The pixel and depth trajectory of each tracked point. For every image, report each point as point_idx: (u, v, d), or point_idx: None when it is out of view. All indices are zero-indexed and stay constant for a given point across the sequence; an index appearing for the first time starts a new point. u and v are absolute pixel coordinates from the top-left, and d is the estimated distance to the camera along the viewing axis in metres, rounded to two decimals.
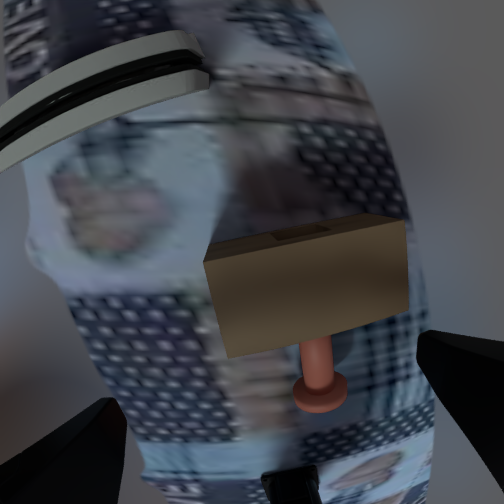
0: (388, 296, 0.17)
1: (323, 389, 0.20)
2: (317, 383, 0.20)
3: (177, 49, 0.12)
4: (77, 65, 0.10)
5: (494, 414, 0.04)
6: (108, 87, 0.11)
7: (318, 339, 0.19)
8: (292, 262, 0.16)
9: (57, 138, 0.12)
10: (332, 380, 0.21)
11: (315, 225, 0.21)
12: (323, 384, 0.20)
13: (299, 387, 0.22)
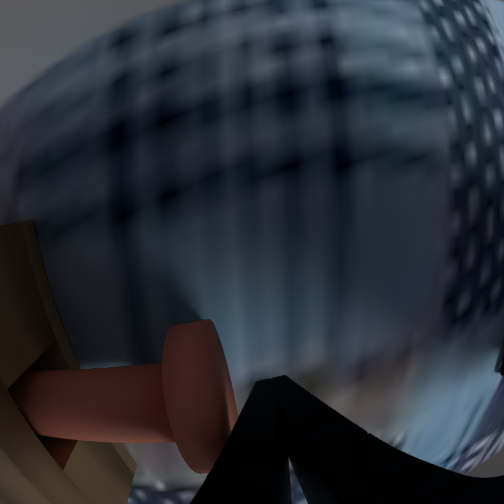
0: None
1: (165, 430, 0.06)
2: (145, 438, 0.06)
3: None
4: None
5: (315, 499, 0.04)
6: None
7: (36, 424, 0.06)
8: None
9: None
10: (143, 399, 0.06)
11: None
12: (148, 429, 0.06)
13: None
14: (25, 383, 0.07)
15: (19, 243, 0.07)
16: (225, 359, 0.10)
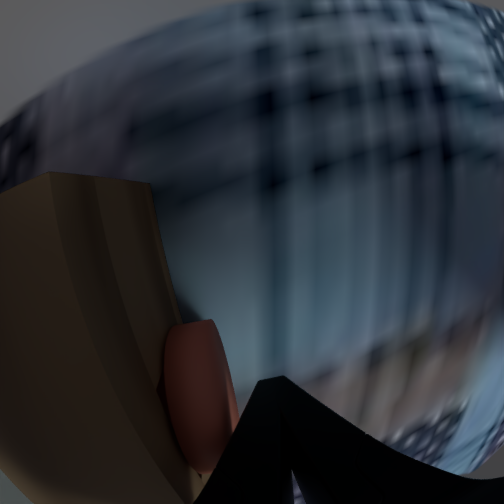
0: (7, 301, 0.03)
1: None
2: None
3: None
4: None
5: (313, 499, 0.04)
6: None
7: None
8: (38, 495, 0.04)
9: None
10: None
11: None
12: None
13: None
14: None
15: (145, 206, 0.08)
16: (226, 359, 0.09)
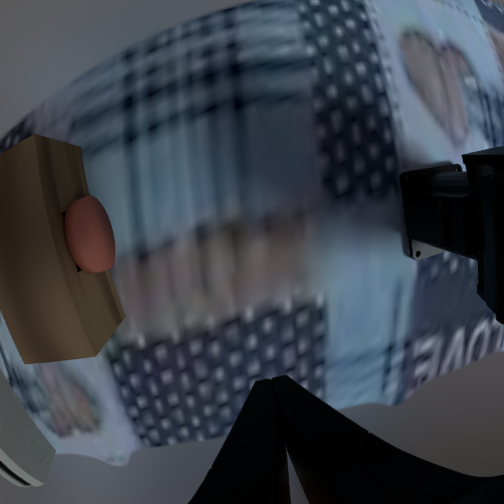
0: (18, 172, 0.11)
1: None
2: None
3: None
4: None
5: (316, 498, 0.04)
6: None
7: None
8: (4, 292, 0.12)
9: None
10: None
11: None
12: None
13: None
14: None
15: (74, 154, 0.15)
16: (111, 229, 0.17)
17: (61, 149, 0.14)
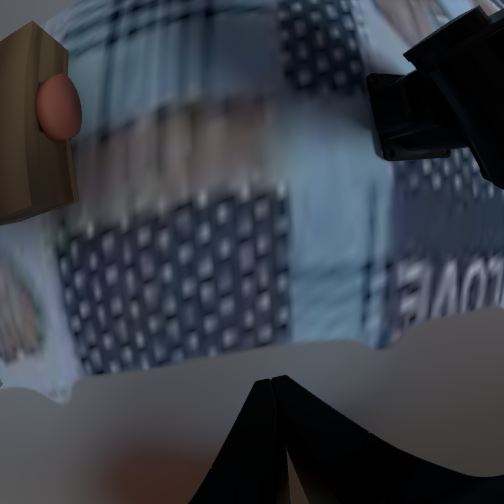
0: (12, 49, 0.09)
1: None
2: None
3: None
4: None
5: (316, 498, 0.04)
6: None
7: None
8: None
9: None
10: None
11: None
12: None
13: None
14: None
15: (61, 52, 0.14)
16: (80, 112, 0.16)
17: (51, 42, 0.12)
